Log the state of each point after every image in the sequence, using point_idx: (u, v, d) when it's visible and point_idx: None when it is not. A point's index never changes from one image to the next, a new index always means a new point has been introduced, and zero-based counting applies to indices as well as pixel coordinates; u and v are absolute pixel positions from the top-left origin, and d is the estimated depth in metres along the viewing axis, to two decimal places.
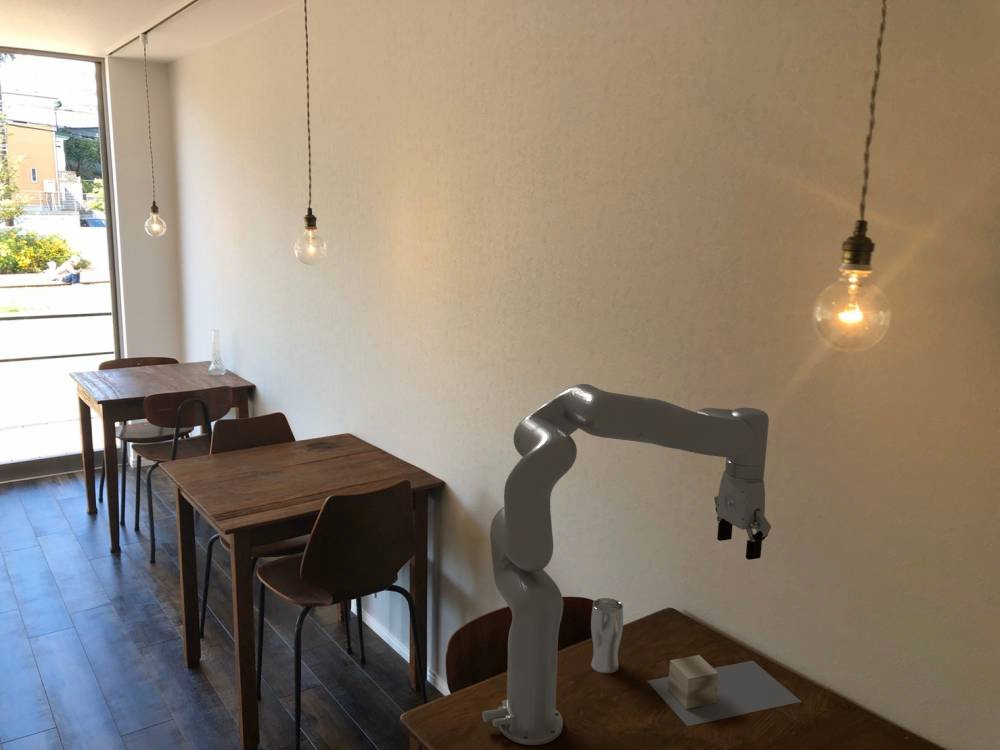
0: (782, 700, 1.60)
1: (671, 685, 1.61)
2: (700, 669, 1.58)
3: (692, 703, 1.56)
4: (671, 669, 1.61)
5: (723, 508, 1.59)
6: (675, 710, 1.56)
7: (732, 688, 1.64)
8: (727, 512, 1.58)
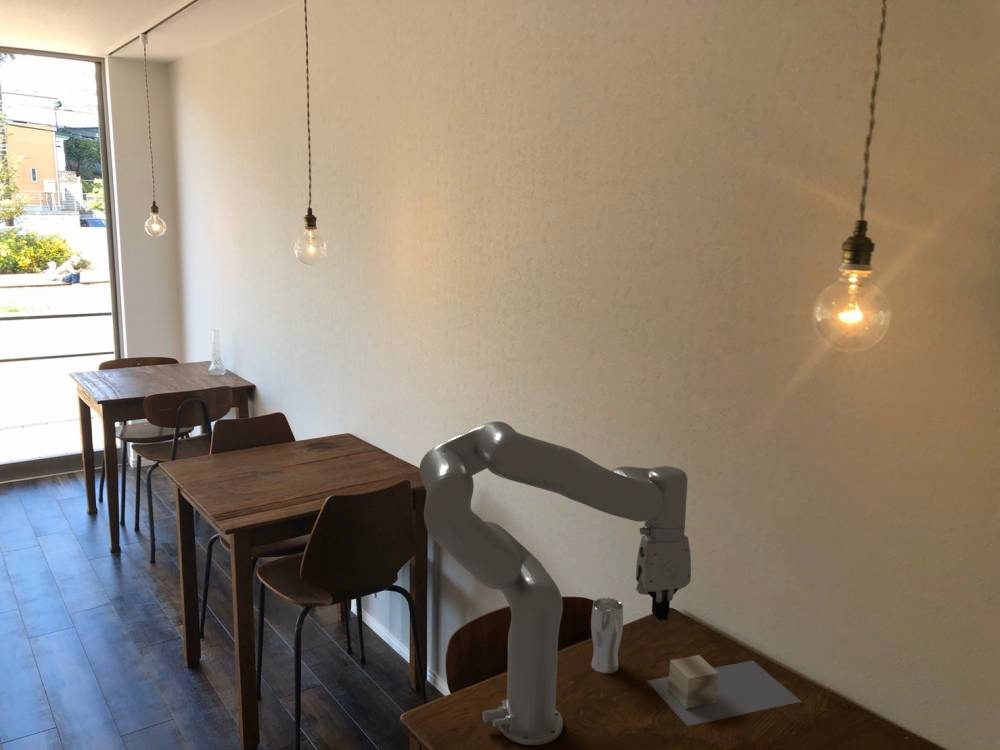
0: (782, 700, 1.60)
1: (671, 685, 1.61)
2: (700, 669, 1.58)
3: (692, 703, 1.56)
4: (671, 669, 1.61)
5: (660, 580, 1.49)
6: (675, 710, 1.56)
7: (732, 688, 1.64)
8: (667, 580, 1.49)
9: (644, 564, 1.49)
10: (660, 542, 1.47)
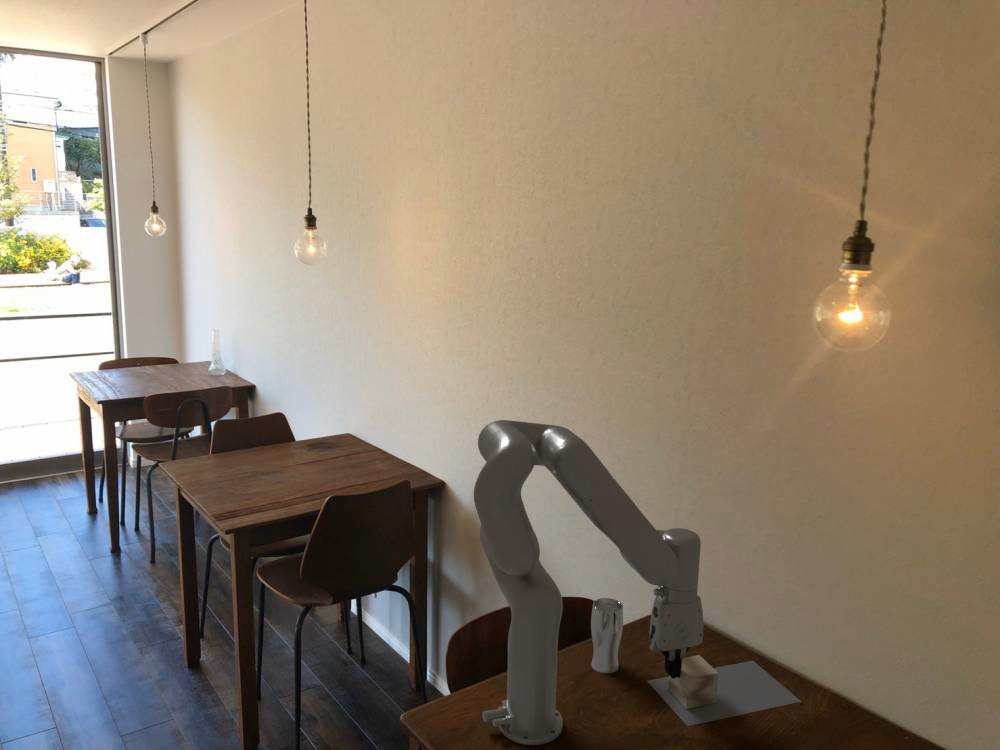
0: (782, 700, 1.60)
1: (671, 685, 1.61)
2: (700, 669, 1.58)
3: (692, 703, 1.56)
4: None
5: (673, 640, 1.53)
6: (675, 710, 1.56)
7: (732, 688, 1.64)
8: (680, 639, 1.53)
9: (658, 624, 1.52)
10: (674, 603, 1.51)
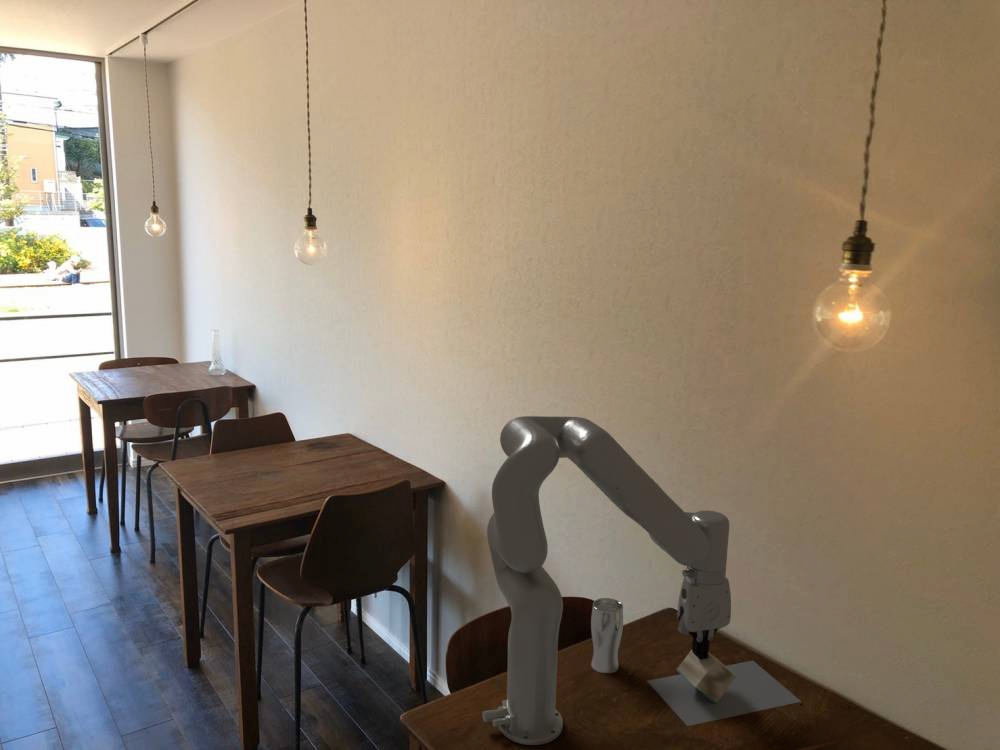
0: (782, 700, 1.60)
1: (684, 665, 1.61)
2: (722, 664, 1.60)
3: (702, 686, 1.56)
4: None
5: (701, 621, 1.54)
6: (675, 710, 1.56)
7: (732, 688, 1.64)
8: (708, 621, 1.54)
9: (686, 605, 1.54)
10: (702, 585, 1.52)
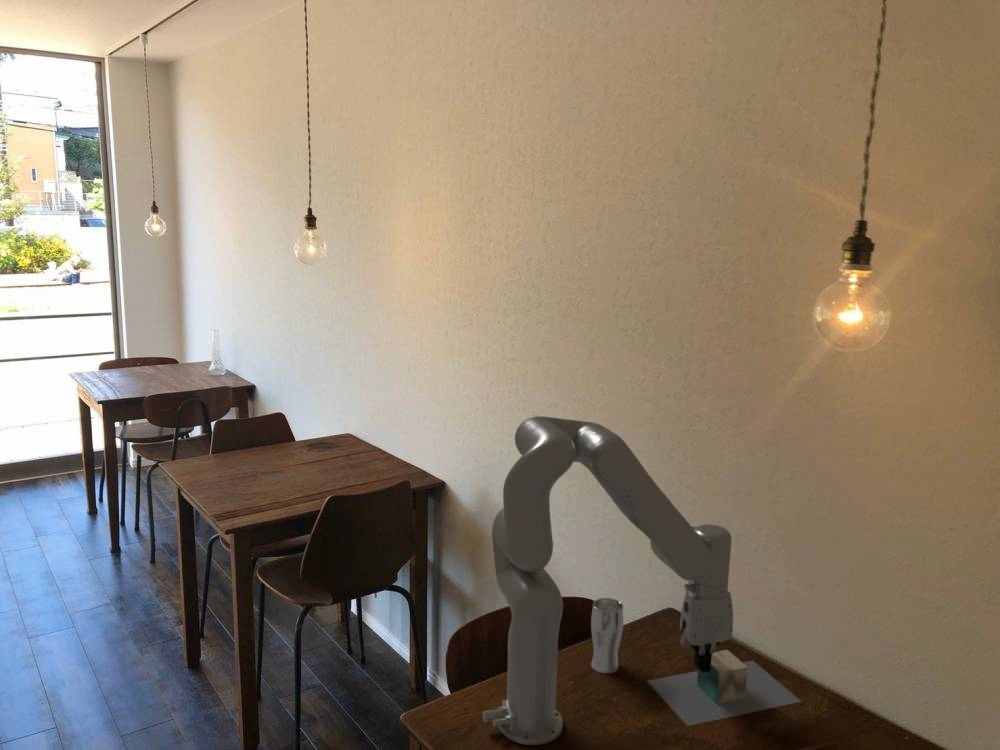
0: (782, 700, 1.60)
1: None
2: None
3: (723, 678, 1.58)
4: (722, 652, 1.64)
5: (703, 634, 1.55)
6: (675, 710, 1.56)
7: None
8: (710, 634, 1.55)
9: (689, 619, 1.55)
10: (705, 599, 1.53)
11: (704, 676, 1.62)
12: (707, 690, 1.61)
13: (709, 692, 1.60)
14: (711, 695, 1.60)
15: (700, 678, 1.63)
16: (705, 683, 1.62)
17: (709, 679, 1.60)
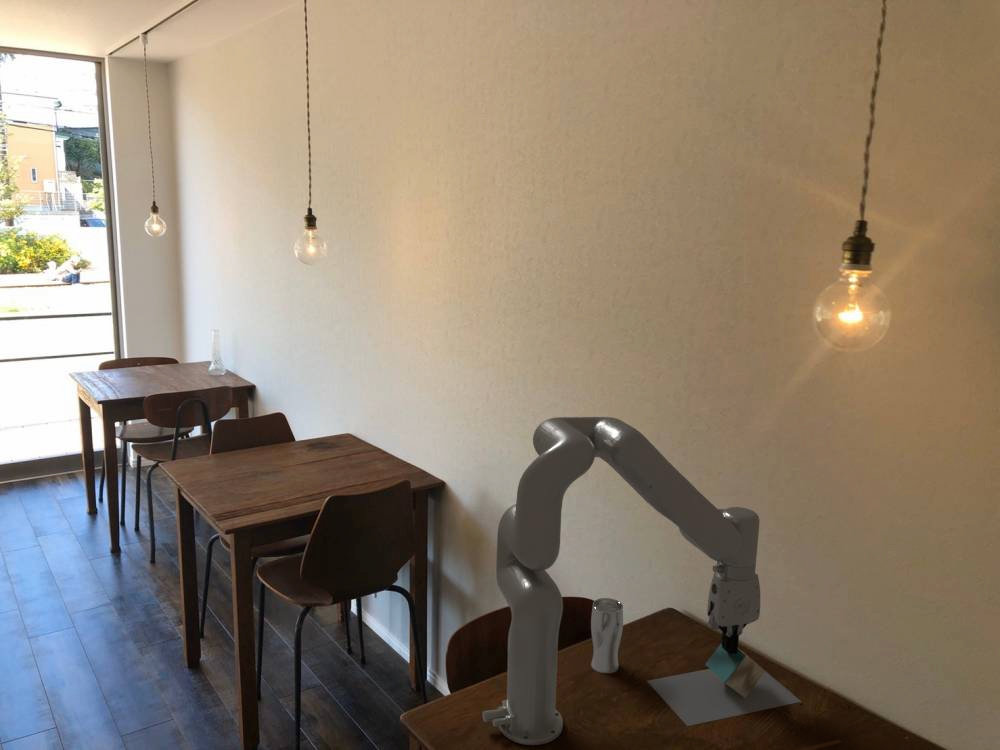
0: (782, 700, 1.60)
1: None
2: None
3: (744, 663, 1.59)
4: None
5: (731, 616, 1.56)
6: (675, 710, 1.56)
7: None
8: (738, 615, 1.57)
9: (717, 600, 1.56)
10: (733, 580, 1.55)
11: (721, 657, 1.62)
12: (718, 669, 1.61)
13: (721, 671, 1.60)
14: (722, 674, 1.60)
15: (714, 658, 1.64)
16: (719, 663, 1.62)
17: (727, 660, 1.61)
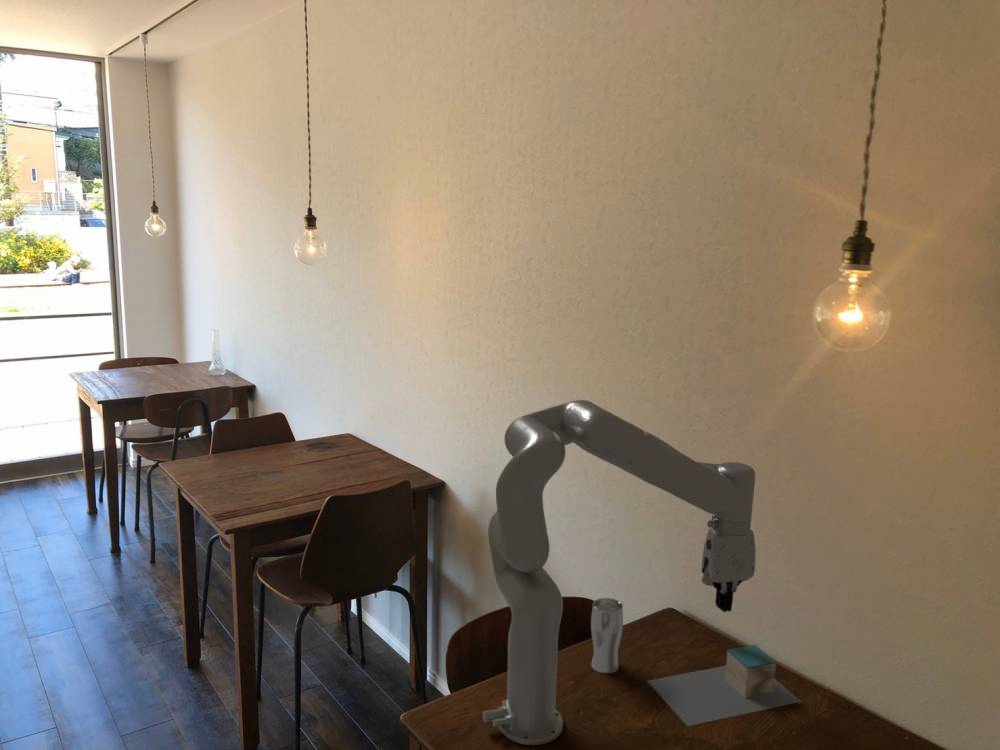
0: (782, 700, 1.60)
1: None
2: None
3: (770, 668, 1.61)
4: None
5: (726, 572, 1.54)
6: (675, 710, 1.56)
7: (732, 688, 1.64)
8: (733, 572, 1.55)
9: (711, 556, 1.54)
10: (728, 535, 1.53)
11: (748, 653, 1.65)
12: (742, 658, 1.62)
13: (745, 660, 1.62)
14: (746, 662, 1.61)
15: (738, 650, 1.65)
16: (744, 655, 1.64)
17: (754, 657, 1.63)
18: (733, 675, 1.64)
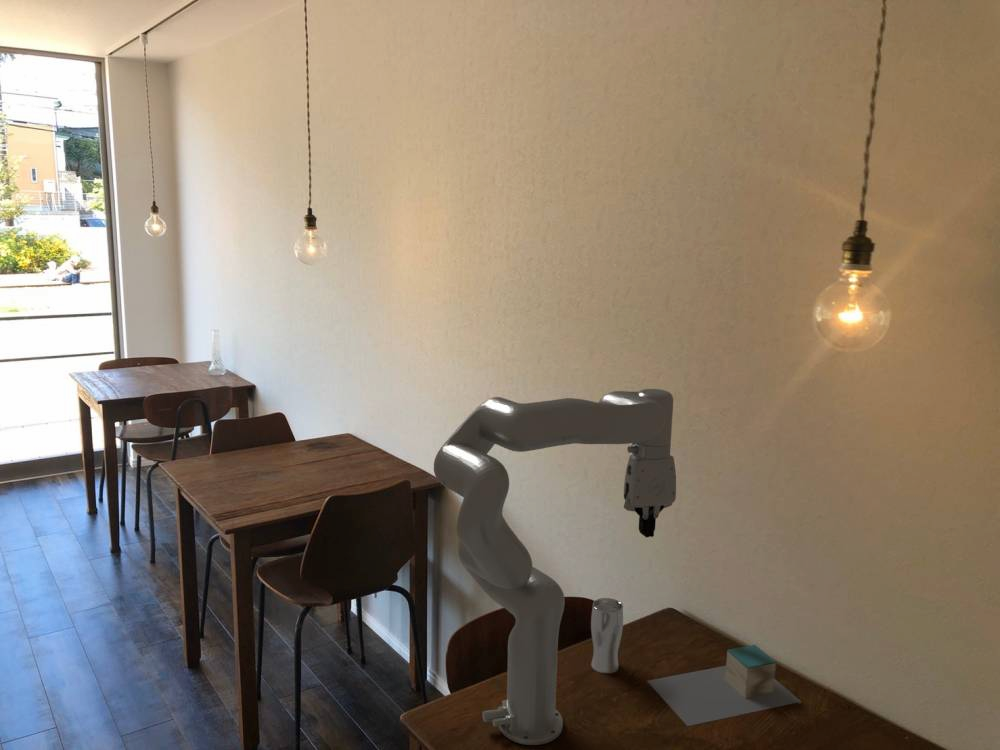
0: (782, 700, 1.60)
1: None
2: None
3: (770, 668, 1.61)
4: None
5: (646, 496, 1.56)
6: (675, 710, 1.56)
7: (732, 688, 1.64)
8: (653, 496, 1.57)
9: (631, 481, 1.56)
10: (647, 459, 1.55)
11: (748, 653, 1.65)
12: (742, 658, 1.62)
13: (745, 660, 1.62)
14: (746, 662, 1.61)
15: (738, 650, 1.65)
16: (744, 655, 1.64)
17: (754, 657, 1.63)
18: (733, 675, 1.64)
